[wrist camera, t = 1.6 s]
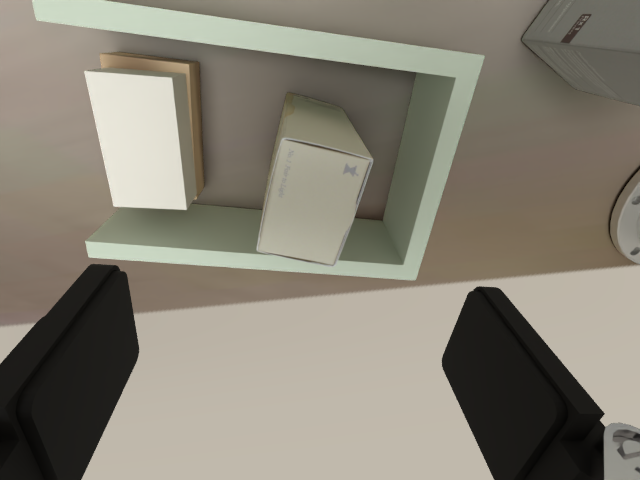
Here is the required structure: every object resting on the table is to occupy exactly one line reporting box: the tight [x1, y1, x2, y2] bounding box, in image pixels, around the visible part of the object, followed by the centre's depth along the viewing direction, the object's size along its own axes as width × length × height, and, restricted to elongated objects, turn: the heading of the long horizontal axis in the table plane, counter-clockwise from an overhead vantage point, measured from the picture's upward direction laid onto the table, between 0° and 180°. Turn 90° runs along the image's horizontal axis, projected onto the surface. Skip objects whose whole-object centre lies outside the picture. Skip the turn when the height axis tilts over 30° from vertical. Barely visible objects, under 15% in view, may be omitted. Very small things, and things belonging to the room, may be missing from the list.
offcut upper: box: [84, 67, 197, 210], centre depth 23 cm, size 5×8×3 cm, turn 175°
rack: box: [32, 0, 485, 281], centre depth 24 cm, size 22×14×7 cm, turn 83°
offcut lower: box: [99, 52, 204, 200], centre depth 25 cm, size 5×9×3 cm, turn 173°
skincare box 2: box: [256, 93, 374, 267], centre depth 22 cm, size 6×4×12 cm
